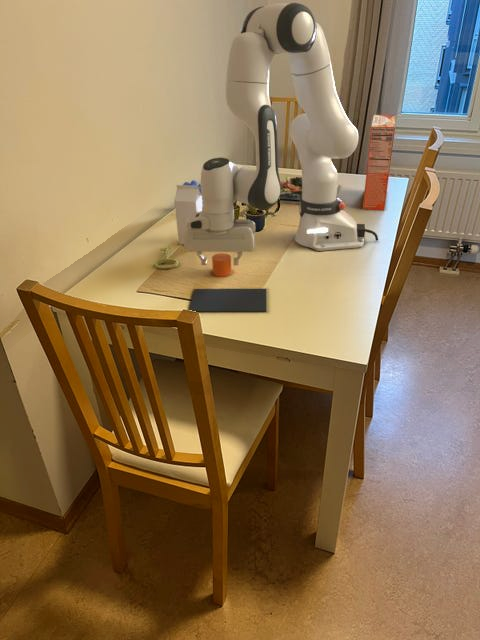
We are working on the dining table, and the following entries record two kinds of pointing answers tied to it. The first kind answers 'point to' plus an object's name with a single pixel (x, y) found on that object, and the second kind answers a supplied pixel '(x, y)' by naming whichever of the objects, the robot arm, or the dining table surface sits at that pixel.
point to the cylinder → (221, 264)
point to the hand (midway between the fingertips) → (220, 264)
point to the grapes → (194, 185)
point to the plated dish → (292, 190)
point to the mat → (229, 300)
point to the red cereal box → (379, 161)
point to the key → (166, 260)
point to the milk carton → (186, 207)
